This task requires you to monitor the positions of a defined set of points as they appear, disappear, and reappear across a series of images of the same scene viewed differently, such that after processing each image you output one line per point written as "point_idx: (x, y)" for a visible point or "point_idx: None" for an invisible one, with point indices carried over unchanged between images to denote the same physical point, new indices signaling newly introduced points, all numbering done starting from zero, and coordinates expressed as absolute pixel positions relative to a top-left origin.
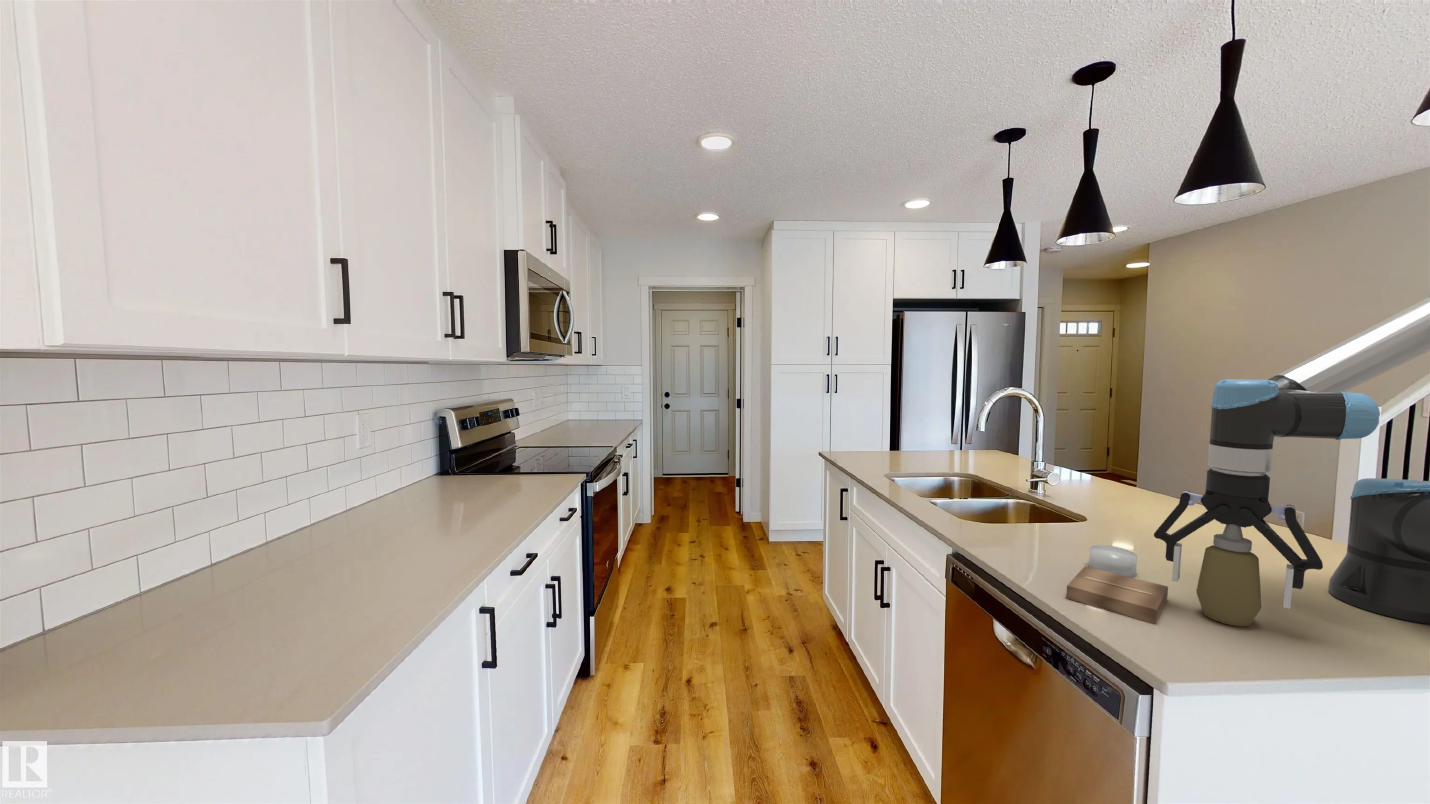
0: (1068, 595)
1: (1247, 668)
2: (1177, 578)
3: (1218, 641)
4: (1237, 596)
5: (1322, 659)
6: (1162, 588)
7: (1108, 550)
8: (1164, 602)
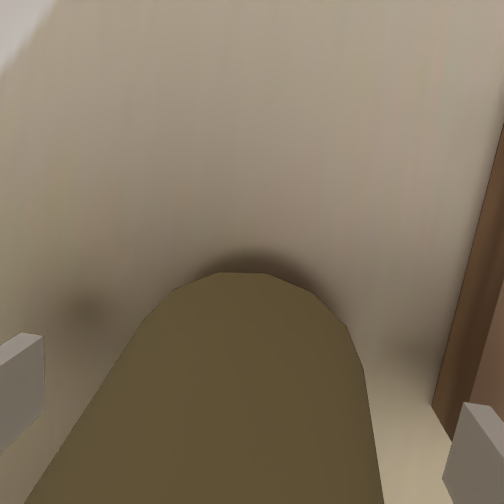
0: None
1: None
2: (475, 416)
3: (294, 74)
4: (203, 299)
5: (19, 162)
6: None
7: None
8: (457, 336)
